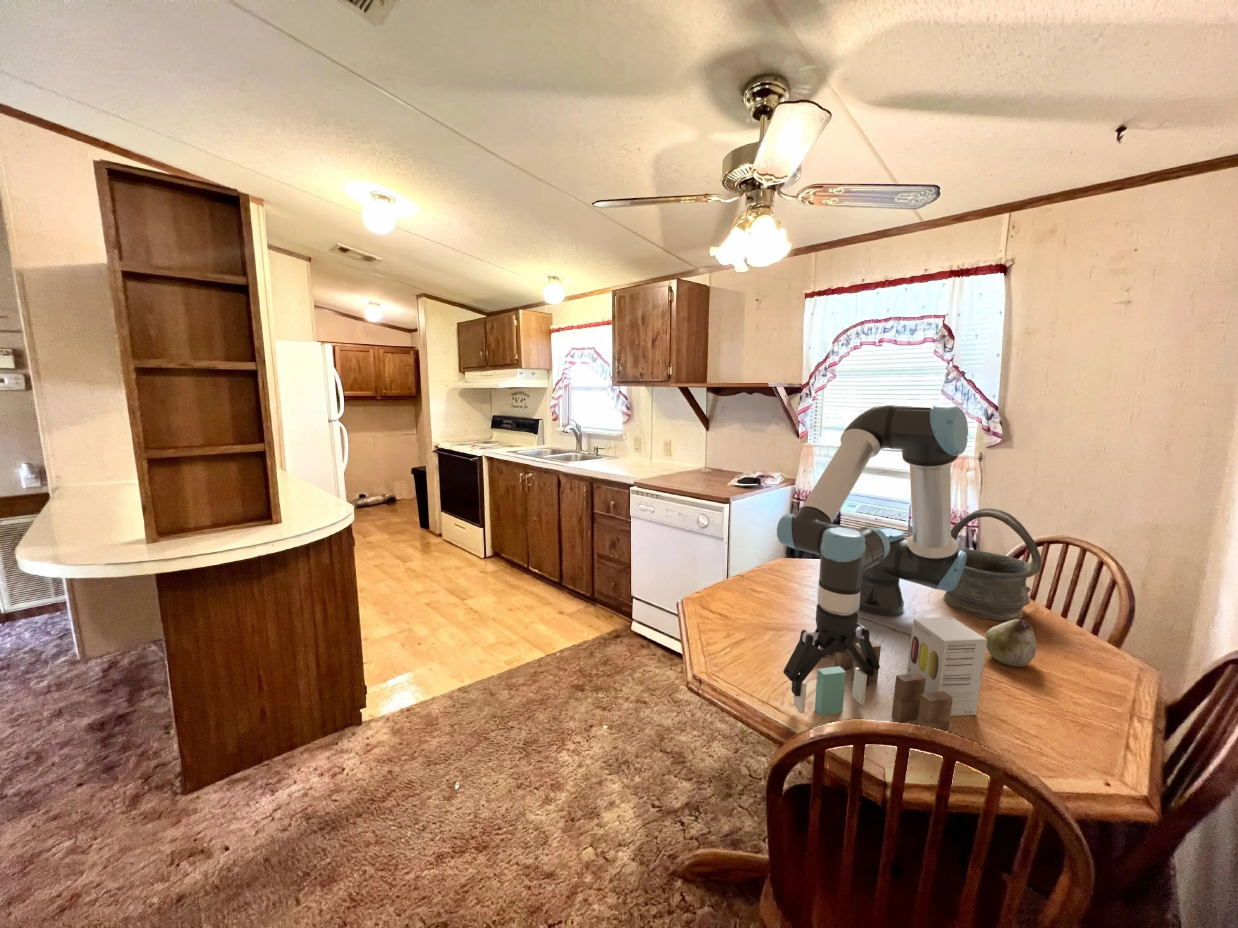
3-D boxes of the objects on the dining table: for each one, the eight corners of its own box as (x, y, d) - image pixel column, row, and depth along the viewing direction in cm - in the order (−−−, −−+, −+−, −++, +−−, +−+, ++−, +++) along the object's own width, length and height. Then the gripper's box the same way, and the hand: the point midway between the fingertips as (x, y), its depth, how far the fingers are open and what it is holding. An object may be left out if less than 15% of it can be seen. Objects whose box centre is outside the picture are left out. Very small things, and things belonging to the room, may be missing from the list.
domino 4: (937, 733, 91) (943, 690, 90) (946, 741, 89) (952, 697, 88) (915, 737, 90) (920, 694, 89) (924, 745, 88) (929, 701, 87)
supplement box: (903, 688, 105) (911, 616, 102) (942, 686, 106) (951, 615, 103) (935, 718, 96) (945, 640, 93) (978, 715, 96) (989, 638, 93)
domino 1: (852, 662, 114) (856, 627, 113) (858, 667, 113) (862, 632, 111) (834, 665, 113) (837, 629, 112) (839, 669, 112) (843, 634, 110)
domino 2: (870, 677, 109) (874, 641, 107) (877, 682, 107) (881, 645, 105) (851, 680, 108) (854, 643, 106) (857, 685, 106) (861, 648, 104)
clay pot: (966, 586, 159) (978, 498, 154) (1049, 617, 137) (1066, 517, 132) (919, 596, 151) (929, 504, 146) (999, 631, 129) (1014, 524, 124)
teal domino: (836, 705, 99) (839, 666, 98) (842, 712, 97) (846, 671, 96) (814, 708, 98) (817, 668, 97) (820, 715, 96) (823, 674, 95)
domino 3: (912, 712, 97) (917, 672, 96) (920, 719, 95) (925, 678, 94) (891, 715, 96) (896, 675, 95) (899, 722, 94) (904, 681, 93)
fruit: (1019, 677, 109) (1027, 628, 107) (973, 656, 117) (980, 611, 115) (1041, 665, 114) (1049, 618, 112) (995, 646, 122) (1002, 602, 120)
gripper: (878, 593, 100) (869, 685, 103) (769, 603, 95) (763, 700, 98) (906, 609, 93) (895, 708, 96) (790, 622, 88) (783, 725, 91)
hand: (828, 704), depth 97 cm, fingers open, 13 cm apart
